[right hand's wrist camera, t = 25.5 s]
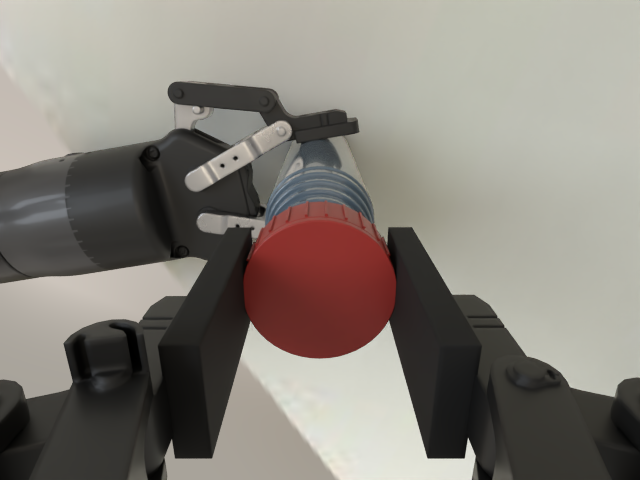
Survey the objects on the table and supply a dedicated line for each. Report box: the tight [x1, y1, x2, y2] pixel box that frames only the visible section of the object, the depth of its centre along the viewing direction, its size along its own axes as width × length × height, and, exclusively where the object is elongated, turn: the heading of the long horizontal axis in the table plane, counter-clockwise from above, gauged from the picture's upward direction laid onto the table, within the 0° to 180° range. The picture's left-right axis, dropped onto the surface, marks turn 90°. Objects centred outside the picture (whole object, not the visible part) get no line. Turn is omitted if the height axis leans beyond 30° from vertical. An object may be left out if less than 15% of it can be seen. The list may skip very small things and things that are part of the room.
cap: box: [243, 201, 396, 358], centre depth 14 cm, size 5×5×2 cm
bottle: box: [265, 136, 374, 226], centre depth 23 cm, size 5×5×21 cm
